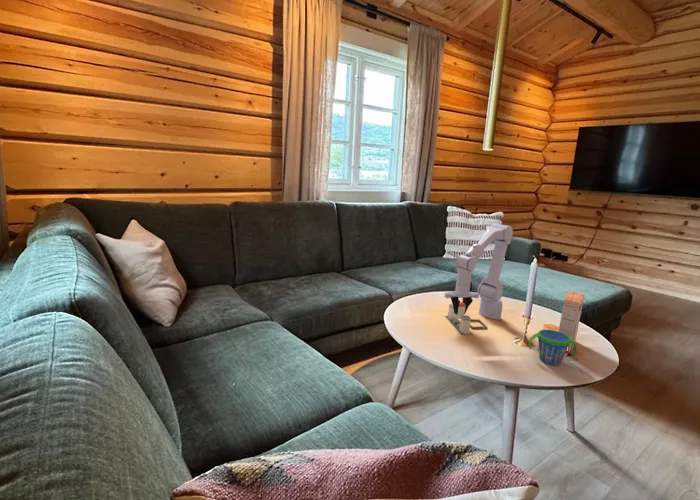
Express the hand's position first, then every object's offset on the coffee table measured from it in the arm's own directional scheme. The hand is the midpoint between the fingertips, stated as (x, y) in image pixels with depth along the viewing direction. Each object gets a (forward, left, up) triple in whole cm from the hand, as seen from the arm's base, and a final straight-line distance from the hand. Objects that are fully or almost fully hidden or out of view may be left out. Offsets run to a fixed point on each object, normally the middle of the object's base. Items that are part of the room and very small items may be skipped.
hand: (459, 313), depth 164 cm
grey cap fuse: (0, -6, -5) cm, 8 cm away
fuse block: (0, 0, -7) cm, 7 cm away
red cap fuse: (0, 0, -2) cm, 2 cm away
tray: (-8, 0, -7) cm, 10 cm away
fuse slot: (0, +7, -5) cm, 8 cm away
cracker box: (-39, +17, -7) cm, 43 cm away
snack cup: (-24, +29, -7) cm, 38 cm away
